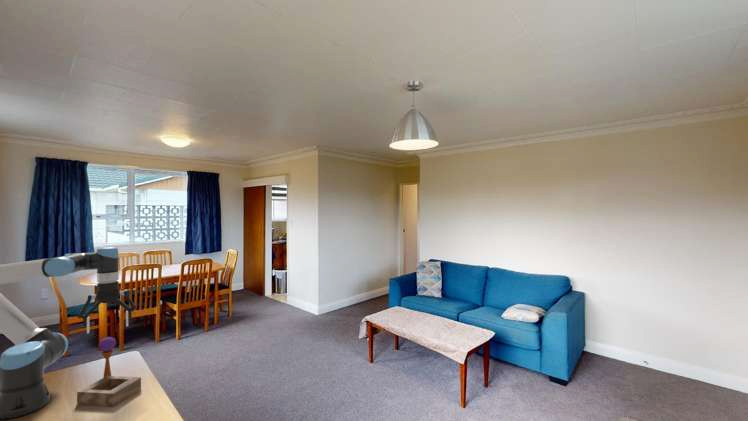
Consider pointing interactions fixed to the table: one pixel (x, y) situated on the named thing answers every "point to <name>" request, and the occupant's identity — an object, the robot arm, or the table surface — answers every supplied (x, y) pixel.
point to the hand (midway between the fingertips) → (108, 329)
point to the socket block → (103, 397)
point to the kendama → (107, 352)
